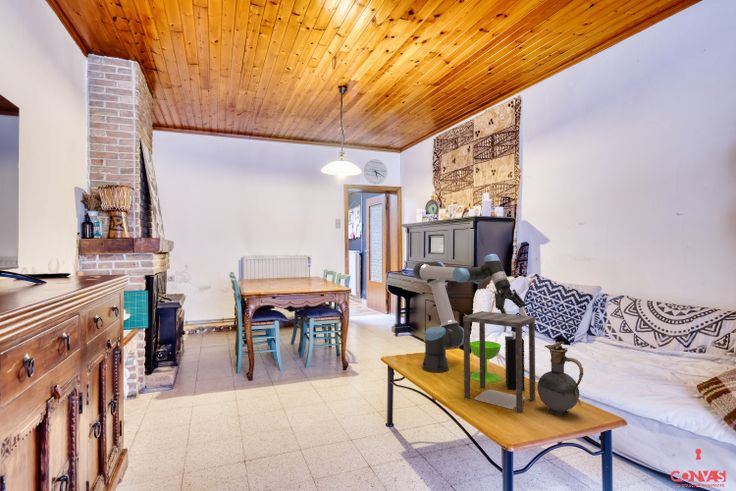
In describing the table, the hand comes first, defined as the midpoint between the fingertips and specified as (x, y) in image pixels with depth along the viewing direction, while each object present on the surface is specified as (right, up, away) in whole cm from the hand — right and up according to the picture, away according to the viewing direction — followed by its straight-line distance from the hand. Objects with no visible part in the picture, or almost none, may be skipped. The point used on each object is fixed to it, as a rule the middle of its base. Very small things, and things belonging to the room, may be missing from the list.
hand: (517, 320), depth 193 cm
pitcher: (+7, -34, -30) cm, 46 cm away
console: (-13, -34, -13) cm, 39 cm away
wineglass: (-11, -34, +17) cm, 40 cm away
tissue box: (-1, -34, +1) cm, 34 cm away
